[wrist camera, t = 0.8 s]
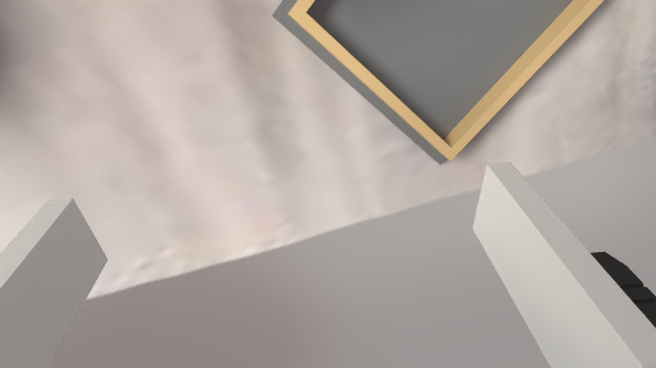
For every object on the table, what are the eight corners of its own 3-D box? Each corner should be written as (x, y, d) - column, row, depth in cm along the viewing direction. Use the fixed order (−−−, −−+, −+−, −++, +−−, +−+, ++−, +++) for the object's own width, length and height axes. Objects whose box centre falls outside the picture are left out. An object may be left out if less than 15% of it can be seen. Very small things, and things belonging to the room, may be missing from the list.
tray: (272, 15, 27) (273, 15, 24) (452, -230, 23) (478, -264, 20) (434, 160, 33) (449, 172, 31) (595, -11, 29) (629, -14, 27)
